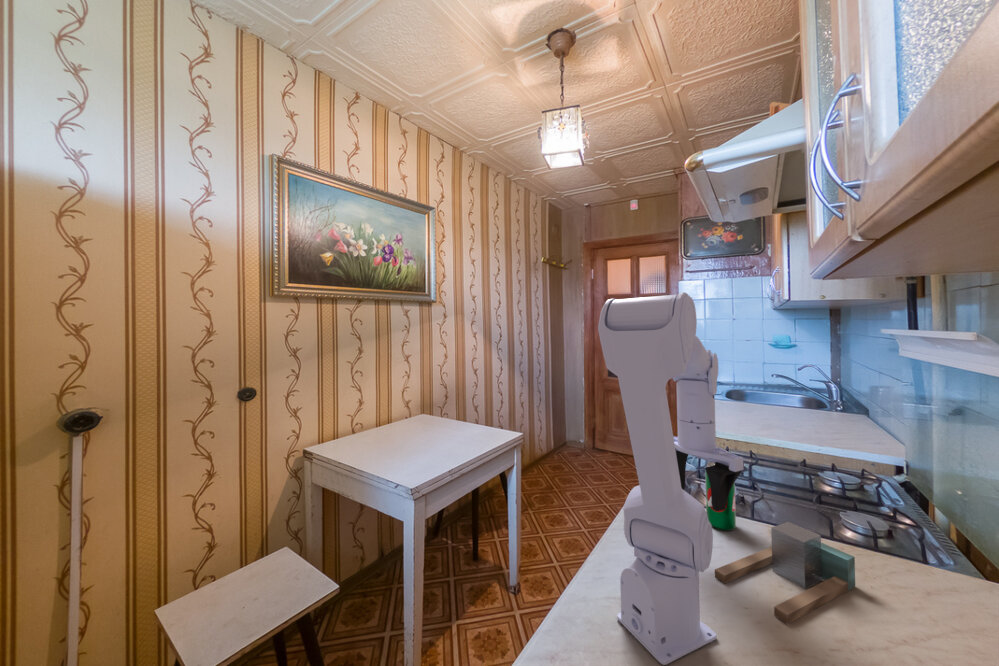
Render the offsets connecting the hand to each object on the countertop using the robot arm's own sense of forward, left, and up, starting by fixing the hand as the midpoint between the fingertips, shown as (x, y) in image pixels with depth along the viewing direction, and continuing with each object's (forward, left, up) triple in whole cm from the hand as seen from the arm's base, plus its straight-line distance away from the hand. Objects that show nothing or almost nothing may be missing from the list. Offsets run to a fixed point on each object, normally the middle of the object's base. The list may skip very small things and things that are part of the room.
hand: (697, 499), depth 61 cm
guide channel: (+6, -9, -10) cm, 15 cm away
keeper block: (+11, -9, -10) cm, 17 cm away
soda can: (+14, +6, -11) cm, 19 cm away
